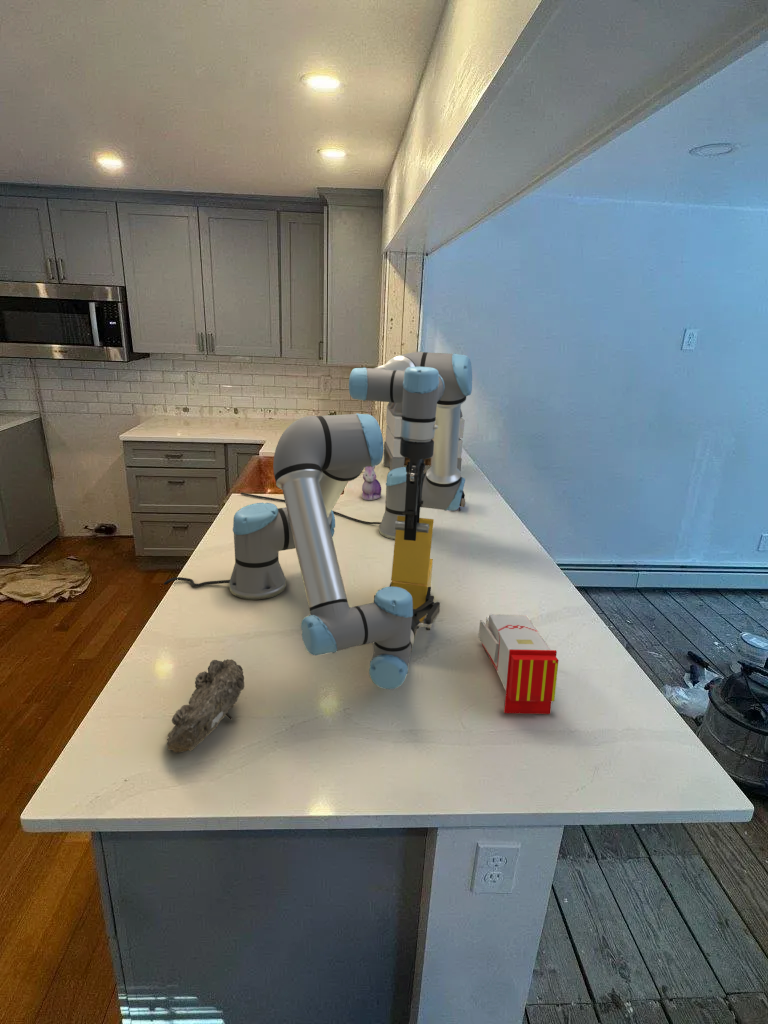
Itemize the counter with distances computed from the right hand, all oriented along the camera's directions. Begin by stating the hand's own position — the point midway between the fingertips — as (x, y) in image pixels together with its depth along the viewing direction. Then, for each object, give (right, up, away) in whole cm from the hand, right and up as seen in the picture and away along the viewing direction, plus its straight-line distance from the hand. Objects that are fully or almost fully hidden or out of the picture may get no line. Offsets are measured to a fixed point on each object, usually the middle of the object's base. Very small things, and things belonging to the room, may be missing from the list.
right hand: (411, 534), depth 134 cm
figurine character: (+22, +7, +96) cm, 99 cm away
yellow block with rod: (+1, -4, +7) cm, 8 cm away
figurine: (-12, +11, +102) cm, 104 cm away
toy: (+22, -30, -9) cm, 38 cm away
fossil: (-39, -34, -26) cm, 58 cm away
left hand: (0, -15, +12) cm, 19 cm away
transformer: (+11, +24, +141) cm, 143 cm away
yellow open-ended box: (+1, -19, +18) cm, 26 cm away
